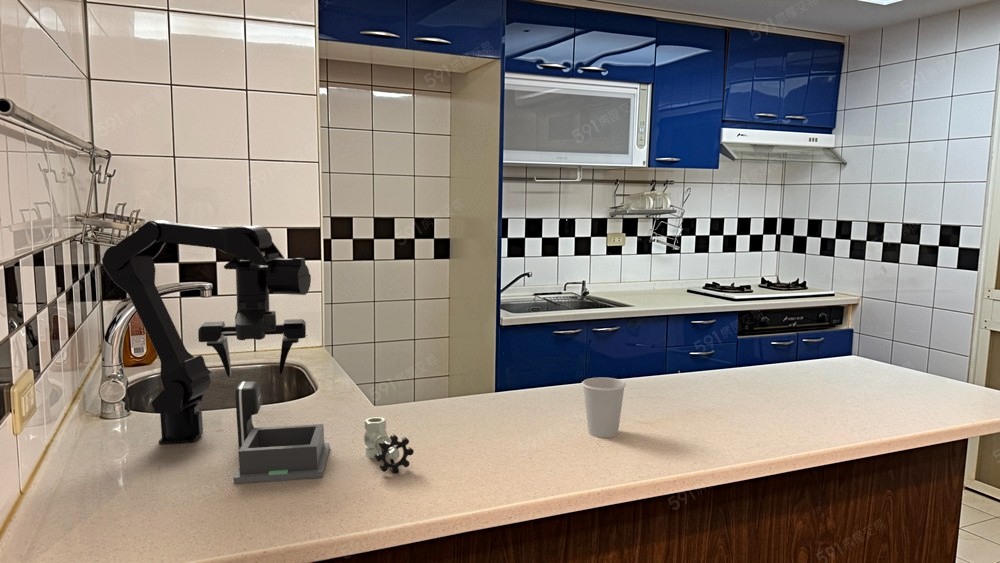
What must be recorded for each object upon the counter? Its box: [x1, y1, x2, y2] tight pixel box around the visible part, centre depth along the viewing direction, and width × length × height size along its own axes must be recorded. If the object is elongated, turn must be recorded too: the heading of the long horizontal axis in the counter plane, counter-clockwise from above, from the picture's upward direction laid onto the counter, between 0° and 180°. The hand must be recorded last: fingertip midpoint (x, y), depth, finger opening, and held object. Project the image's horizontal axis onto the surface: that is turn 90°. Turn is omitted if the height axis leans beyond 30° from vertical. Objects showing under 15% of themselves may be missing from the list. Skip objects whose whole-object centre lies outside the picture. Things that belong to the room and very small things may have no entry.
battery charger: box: [235, 381, 262, 448], centre depth 133 cm, size 7×4×11 cm, turn 12°
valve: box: [363, 416, 415, 475], centre depth 122 cm, size 7×7×12 cm
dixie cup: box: [581, 377, 627, 439], centre depth 136 cm, size 8×8×10 cm
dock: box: [232, 423, 330, 484], centre depth 122 cm, size 14×14×5 cm
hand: (255, 375), depth 133 cm, fingers open, 9 cm apart
